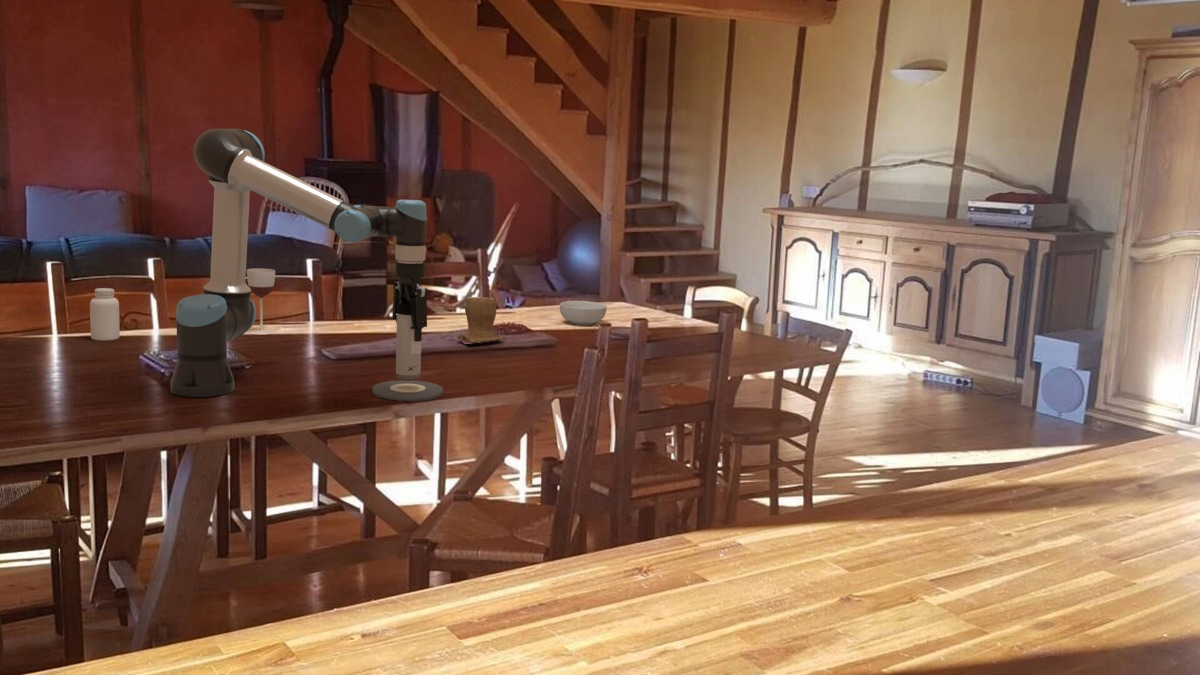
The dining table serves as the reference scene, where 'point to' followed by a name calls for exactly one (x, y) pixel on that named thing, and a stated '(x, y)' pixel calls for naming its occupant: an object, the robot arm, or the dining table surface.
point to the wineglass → (261, 290)
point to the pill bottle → (104, 315)
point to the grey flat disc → (407, 390)
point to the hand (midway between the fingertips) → (408, 350)
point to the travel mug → (405, 346)
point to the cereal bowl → (582, 312)
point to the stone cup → (480, 320)
